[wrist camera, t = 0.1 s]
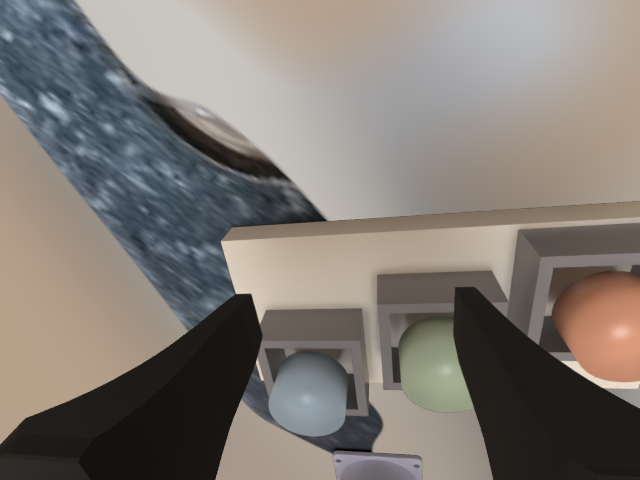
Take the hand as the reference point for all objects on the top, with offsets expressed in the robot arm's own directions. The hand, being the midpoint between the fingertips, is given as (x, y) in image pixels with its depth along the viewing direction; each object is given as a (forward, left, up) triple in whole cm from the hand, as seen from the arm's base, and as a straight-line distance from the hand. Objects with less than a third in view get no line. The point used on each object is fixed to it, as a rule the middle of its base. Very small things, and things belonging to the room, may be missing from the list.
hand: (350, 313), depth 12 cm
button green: (-7, -4, -5) cm, 9 cm away
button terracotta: (-4, -11, -5) cm, 13 cm away
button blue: (-9, +4, -5) cm, 11 cm away
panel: (-7, -4, -10) cm, 13 cm away
